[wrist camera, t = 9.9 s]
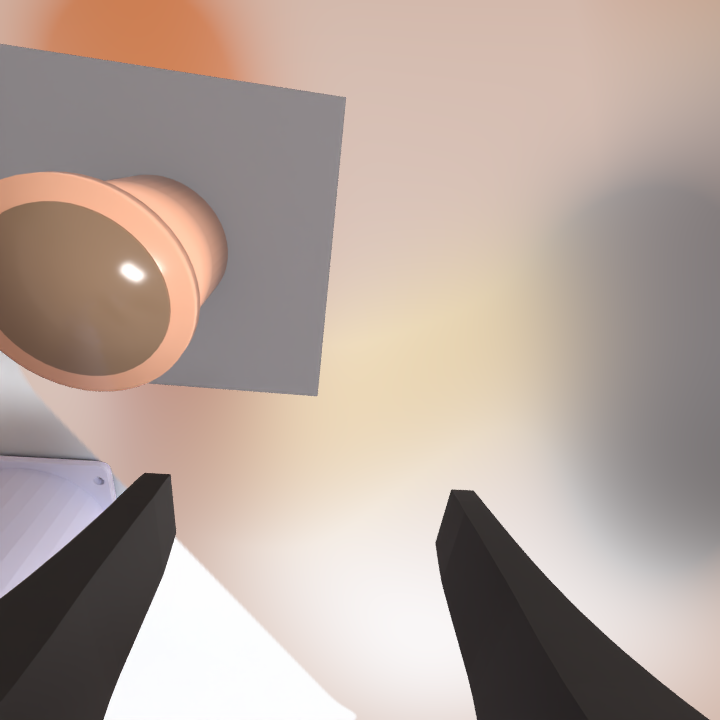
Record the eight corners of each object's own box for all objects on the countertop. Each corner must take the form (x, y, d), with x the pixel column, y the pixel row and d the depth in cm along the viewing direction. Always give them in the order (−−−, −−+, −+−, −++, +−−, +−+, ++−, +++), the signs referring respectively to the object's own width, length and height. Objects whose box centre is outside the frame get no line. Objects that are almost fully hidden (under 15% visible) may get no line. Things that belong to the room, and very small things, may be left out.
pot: (241, 320, 18) (201, 398, 12) (96, 311, 17) (-13, 389, 12) (234, 169, 15) (180, 184, 10) (64, 154, 15) (-96, 161, 9)
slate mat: (317, 389, 20) (317, 396, 20) (50, 368, 19) (42, 375, 18) (345, 99, 15) (345, 97, 14) (-26, 41, 14) (-41, 37, 13)
